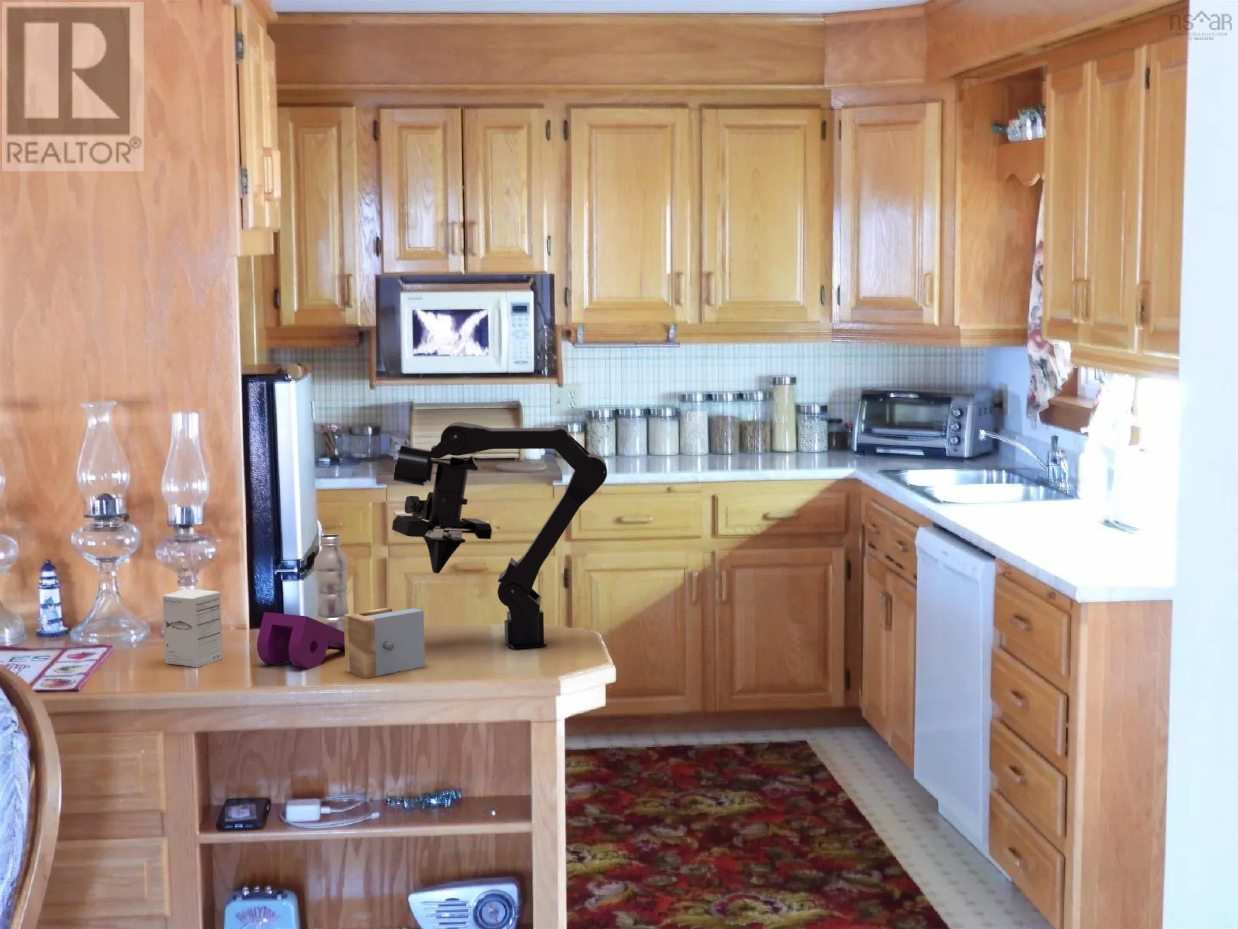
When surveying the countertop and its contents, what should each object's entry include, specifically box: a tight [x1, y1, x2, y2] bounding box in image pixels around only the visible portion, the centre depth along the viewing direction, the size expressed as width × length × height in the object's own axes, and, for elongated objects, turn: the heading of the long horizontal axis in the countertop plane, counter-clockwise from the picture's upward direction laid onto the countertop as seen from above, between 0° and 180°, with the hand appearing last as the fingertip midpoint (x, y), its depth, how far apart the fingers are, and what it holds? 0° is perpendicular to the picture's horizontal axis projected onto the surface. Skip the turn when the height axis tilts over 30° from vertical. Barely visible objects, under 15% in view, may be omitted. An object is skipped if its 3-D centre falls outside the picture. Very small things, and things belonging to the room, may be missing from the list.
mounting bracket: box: [256, 611, 345, 670], centre depth 267 cm, size 10×8×18 cm
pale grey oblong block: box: [365, 607, 426, 677], centre depth 258 cm, size 10×5×10 cm, turn 129°
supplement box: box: [162, 588, 223, 668], centre depth 266 cm, size 7×7×13 cm
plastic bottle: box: [313, 533, 350, 632], centre depth 281 cm, size 6×7×20 cm
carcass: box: [344, 607, 393, 680], centre depth 257 cm, size 9×7×10 cm
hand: (435, 572), depth 274 cm, fingers closed
